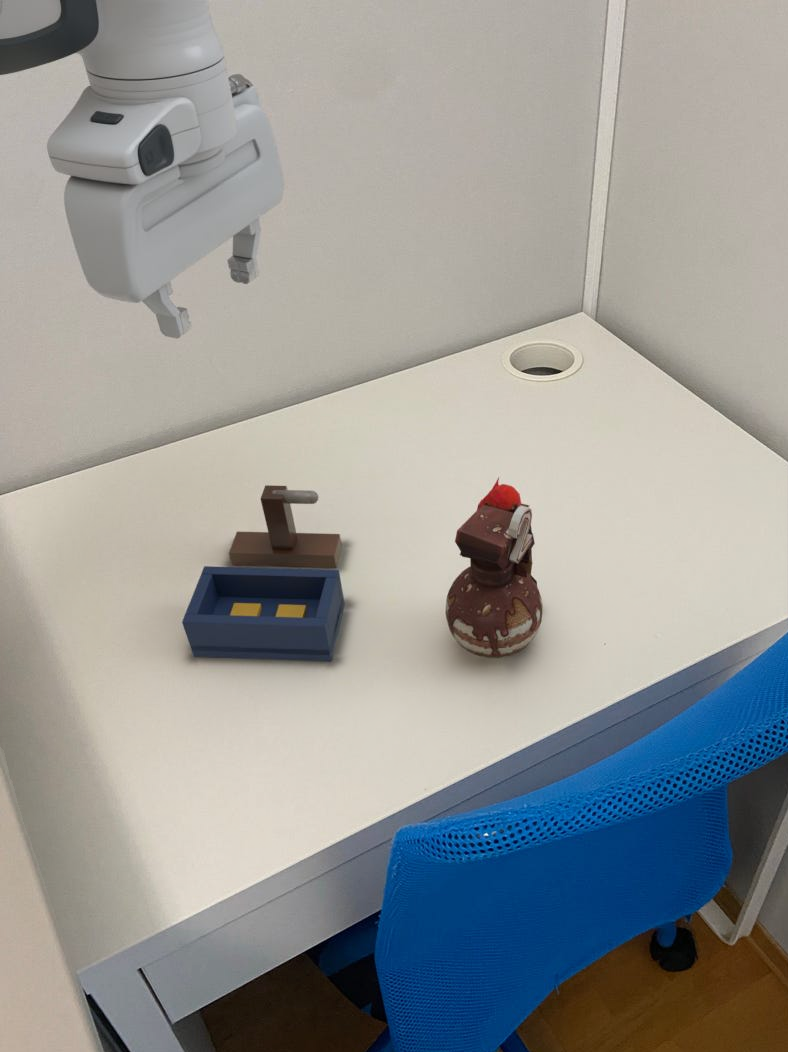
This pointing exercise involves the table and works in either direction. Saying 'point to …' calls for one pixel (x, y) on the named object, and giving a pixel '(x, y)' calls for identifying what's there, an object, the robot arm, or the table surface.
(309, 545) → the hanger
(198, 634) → the token holder
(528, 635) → the grenade
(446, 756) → the table surface
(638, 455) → the table surface
